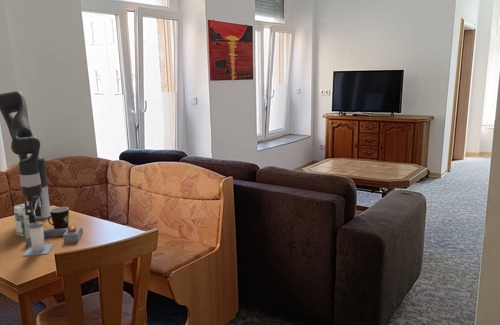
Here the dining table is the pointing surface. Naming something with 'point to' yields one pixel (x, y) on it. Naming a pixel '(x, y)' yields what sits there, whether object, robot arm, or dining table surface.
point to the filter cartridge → (37, 236)
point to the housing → (59, 232)
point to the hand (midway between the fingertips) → (35, 219)
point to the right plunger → (71, 229)
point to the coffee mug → (59, 217)
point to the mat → (45, 251)
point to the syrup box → (21, 220)
